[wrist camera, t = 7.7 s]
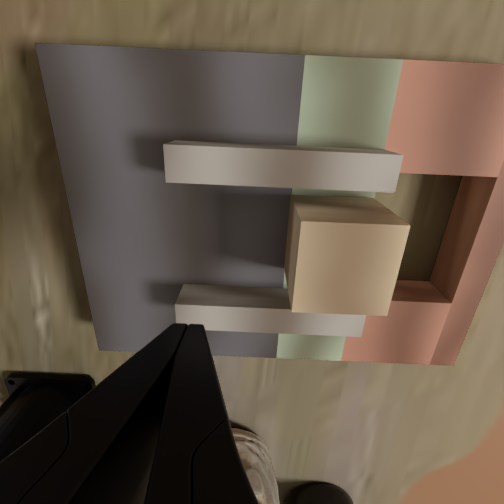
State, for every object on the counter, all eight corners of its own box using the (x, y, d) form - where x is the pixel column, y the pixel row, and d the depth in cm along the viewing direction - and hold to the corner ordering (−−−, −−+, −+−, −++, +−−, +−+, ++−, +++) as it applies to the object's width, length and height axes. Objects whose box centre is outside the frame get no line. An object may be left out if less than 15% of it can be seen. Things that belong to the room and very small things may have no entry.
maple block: (284, 268, 17) (291, 312, 13) (290, 194, 15) (301, 221, 11) (358, 271, 17) (387, 316, 13) (373, 198, 15) (410, 225, 11)
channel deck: (115, 324, 21) (82, 375, 17) (68, 53, 15) (-4, 30, 11) (432, 338, 21) (474, 392, 17) (526, 74, 15) (628, 59, 11)
